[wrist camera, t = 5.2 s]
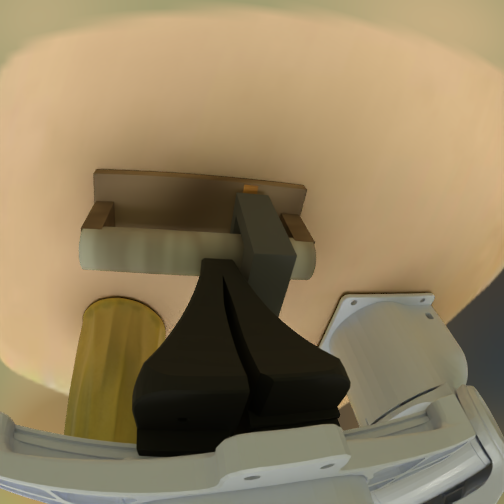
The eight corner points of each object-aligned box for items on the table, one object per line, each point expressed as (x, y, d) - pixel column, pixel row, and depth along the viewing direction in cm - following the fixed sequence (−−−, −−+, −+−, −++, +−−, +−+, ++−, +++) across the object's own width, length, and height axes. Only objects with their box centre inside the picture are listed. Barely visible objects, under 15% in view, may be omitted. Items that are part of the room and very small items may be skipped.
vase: (93, 352, 22) (75, 529, 11) (74, 294, 19) (27, 509, 7) (168, 354, 23) (177, 540, 12) (162, 296, 20) (164, 531, 8)
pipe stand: (303, 185, 17) (334, 226, 14) (283, 260, 20) (303, 312, 16) (96, 169, 15) (67, 209, 11) (101, 250, 17) (83, 303, 14)
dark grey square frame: (268, 195, 16) (297, 255, 12) (252, 266, 18) (271, 336, 14) (236, 192, 16) (254, 253, 11) (224, 265, 18) (236, 337, 14)
